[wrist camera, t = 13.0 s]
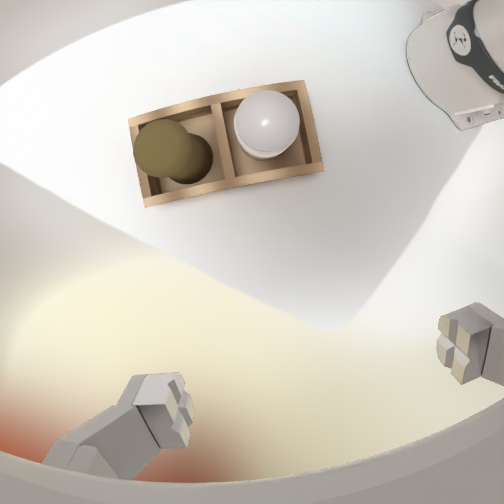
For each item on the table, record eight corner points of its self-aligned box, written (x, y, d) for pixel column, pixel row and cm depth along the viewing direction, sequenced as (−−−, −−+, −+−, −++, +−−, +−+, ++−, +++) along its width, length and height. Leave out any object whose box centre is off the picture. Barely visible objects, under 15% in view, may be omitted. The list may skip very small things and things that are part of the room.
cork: (159, 139, 34) (120, 120, 23) (209, 128, 33) (187, 103, 22) (166, 188, 35) (127, 188, 24) (216, 179, 34) (196, 174, 24)
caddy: (297, 92, 33) (304, 80, 28) (314, 171, 35) (323, 171, 30) (143, 125, 34) (128, 119, 29) (158, 203, 36) (145, 207, 31)
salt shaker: (281, 110, 33) (293, 83, 23) (291, 156, 34) (308, 146, 24) (233, 119, 33) (226, 94, 23) (243, 165, 34) (240, 159, 24)
